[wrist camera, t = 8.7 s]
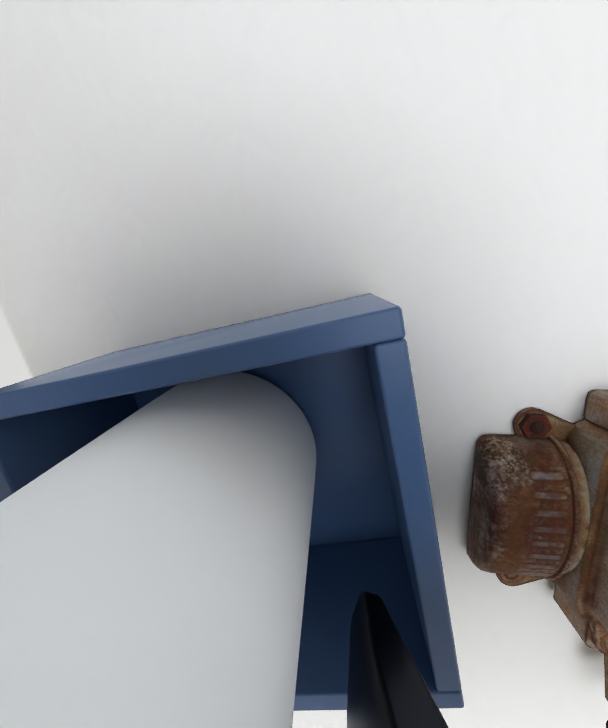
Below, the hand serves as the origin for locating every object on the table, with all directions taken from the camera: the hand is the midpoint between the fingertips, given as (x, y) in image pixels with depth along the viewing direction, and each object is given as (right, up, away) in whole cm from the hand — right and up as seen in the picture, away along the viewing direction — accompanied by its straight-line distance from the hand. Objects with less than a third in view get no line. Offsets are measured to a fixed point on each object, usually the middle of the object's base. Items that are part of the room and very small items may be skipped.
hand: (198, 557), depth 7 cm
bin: (+1, +1, +5) cm, 6 cm away
